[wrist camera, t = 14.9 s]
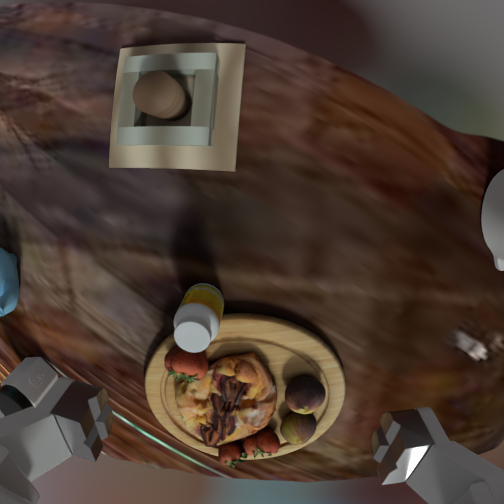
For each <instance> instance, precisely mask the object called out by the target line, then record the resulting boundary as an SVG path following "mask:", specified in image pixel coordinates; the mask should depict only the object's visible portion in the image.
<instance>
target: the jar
mask: <svg viewBox="0 0 504 504" xmlns="http://www.w3.org/2000/svg"><path fill="white" fill-rule="evenodd" d="M57 380H58V374H57V372H56V371H54V370H53V369H52V368H51V367H50V366H49V365H48V364H47V363H46V362H45V361H44V360H43V359H42V358H41V357H27V358H25V359H24V360H23V361H22V362H21V363H20V364H19V365H18V366H17V367H16V368H15V369H14V370H13V372H12V373H11V374H10V375H9V376H8V377H7V378H6V379H5V380H4V381H3V382H2V383H1V388H0V410H1V412H2V413H3V414H4V415H5V416H8V415H11V414H13V413H16V412H18V411H21V410H24V409H26V408H29V407H31V406H32V407H35V408H36V406H37V405H38V404H39V402H40V401H41V400H42V399H43V397H44V396H45V395H46V393H47V392H48V391H49V390H50V388H51V387H52V386H53V385H54V383H55V382H56V381H57Z"/></svg>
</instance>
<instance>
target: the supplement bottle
mask: <svg viewBox="0 0 504 504" xmlns="http://www.w3.org/2000/svg"><path fill="white" fill-rule="evenodd" d="M223 308H224V299H223V296H222V294H221V293H220V291H219V290H218V289H217V288H216V287H214V286H212V285H210V284H205V283H201V284H197V285H194V286H192V287H191V288H190V289H189V290H188V291H187V292H186V294H185V296H184V298H183V300H182V302H181V304H180V306H179V308H178V310H177V312H176V314H175V317H174V328H175V331H174V338H175V341H176V343H177V344H178V346H179V347H181V348H182V349H183V350H185V351H188V352H194V353H195V352H201V351H203V350H205V349H206V348H207V347H208V345H209V343H210V342H211V341H213V340H214V339H215V337H216V336H217V334H218V332H219V327H220V323H221V318H222V313H223Z"/></svg>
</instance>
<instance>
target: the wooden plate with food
mask: <svg viewBox="0 0 504 504" xmlns="http://www.w3.org/2000/svg"><path fill="white" fill-rule="evenodd" d="M144 381H145V392H146V397H147V400H148V403H149V406H150V408H151V410H152V412H153V413H154V415H155V417H156V418H157V419H158V420H159V422H160V423H161V424H162V425H163V426H164V427H165V428H166V429H167V430H168V431H169V432H170V433H171V434H172V435H174V436H175V437H176V438H178V439H179V440H181V441H182V442H184V443H186V444H187V445H189V446H191V447H193V448H196V449H198V450H200V451H203V452H206V453H209V454H212V455H215V456H218V458H219V461H220V462H221V463H222V464H223V465H228V466H229V465H230V466H232V467H235V465H233V463H238V462H239V463H240V462H245V461H243V460H241V459H263V458H270V457H275V456H279V455H283V454H287V453H290V452H293V451H295V450H298V449H300V448H302V447H304V446H306V445H308V444H309V443H311V442H313V441H314V440H316V439H317V438H318V437H320V436H321V435H322V434H323V433H324V432H325V431H326V430H327V429H328V428H329V427H330V426H331V425H332V424H333V423H334V421H335V420H336V418H337V416H338V415H339V413H340V411H341V409H342V406H343V403H344V399H345V393H346V380H345V375H344V371H343V368H342V366H341V363H340V361H339V359H338V358H337V356H336V355H335V353H334V352H333V351H332V349H331V348H330V347H329V346H328V345H327V344H326V343H325V341H324V340H322V339H321V338H320V337H319V336H317V335H316V334H314V333H313V332H311V331H309V330H307V329H306V328H304V327H302V326H300V325H298V324H295V323H292V322H290V321H287V320H284V319H281V318H277V317H273V316H268V315H262V314H253V313H231V314H222V318H221V323H220V327H219V332H218V334H217V336H216V337H215V339H214V340H213V341H211V342H210V343H209V345H208V347H207V348H206V349H205V350H203V351H201V352H195V353H194V352H188V351H185V350H183V349H182V348H181V347H179V346H178V344H177V343H176V341H175V338H174V332H173V333H172V334H171V335H169V336H168V337H167V338H165V339H164V340H163V341H162V342H161V343H160V344H159V346H158V347H157V348H156V350H155V351H154V353H153V355H152V356H151V358H150V360H149V362H148V365H147V369H146V372H145V380H144Z"/></svg>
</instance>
